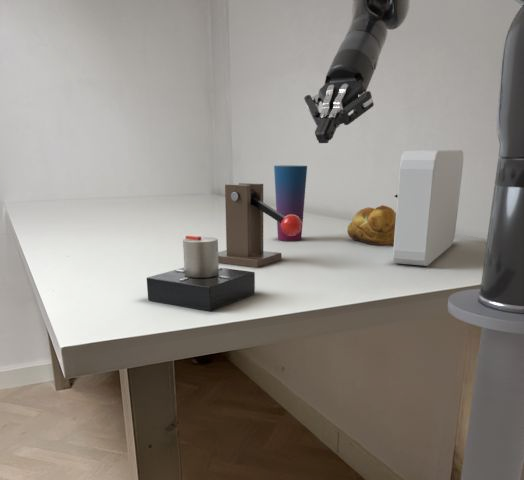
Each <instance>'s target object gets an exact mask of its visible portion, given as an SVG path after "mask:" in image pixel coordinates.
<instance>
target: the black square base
mask: <svg viewBox="0 0 524 480" xmlns="http://www.w3.org/2000/svg"><path fill="white" fill-rule="evenodd" d="M255 279H256V272H255V271H248V270H241V269H234V268H226V267H219V274H218V275H217V276H214V277H208V278H192V277H187V276H185V272H184V267H181V268H177V269H174V270H169V271H166V272H162V273H159V274H158V273H157V274H155V275H152V276H147V277H146V288H147V289H146V290H147V300H148V301H149V302H150V301H151V302H154V303H155V302H156V303H160V304H168V305H171V306H177V307H184V308H188V309H195V310H200V311H205V312H206V311H207V312H212V311H216V310H218V309H220V308H222V307H225V306H228V305H230V304H233V303H236V302H238V301H240V300H243V299H245V298H248V297H250V296H253V295H255V293H256V280H255Z"/></svg>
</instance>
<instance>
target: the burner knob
mask: <svg viewBox="0 0 524 480" xmlns="http://www.w3.org/2000/svg"><path fill="white" fill-rule="evenodd" d="M182 247H183V248H182V249H183V250H182V251H183V268H184V272H185V276H187V277H192V278H208V277H214V276H217V275H218V274H219V268H220V267H219V266H220V265H219V263H218V252H219V238H217V237H213V236H200V235H199V236H198V235H189V234H188V235H185V238H183V239H182Z"/></svg>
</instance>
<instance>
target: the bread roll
mask: <svg viewBox="0 0 524 480" xmlns="http://www.w3.org/2000/svg"><path fill="white" fill-rule="evenodd" d="M395 222H396V211H395V210H394V209H393V208H392V207H389V206H387V205H384V204H382V205H380V206H377V207H375V208H374V207H368V206H367V207H364V208H362V209H360V210H358V211H357V212H356V213H355V215H354V216H353V217H352V220H351V222H350V223H348V225H347V229H346V230H347V235H348V236H349V238H350V239H352V240H355V241H359V242H364V243H365V244H368V245H373V246H374V245H376V246H388V245H394V235H395Z"/></svg>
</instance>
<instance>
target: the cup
mask: <svg viewBox="0 0 524 480" xmlns="http://www.w3.org/2000/svg"><path fill="white" fill-rule="evenodd" d="M273 170H274V171H273V172H274V188H275V210H276V211H277V212H279V213H281V214H282V215H284V216H287V215H290V214H293V215H296V216H298V217H299V218H300V220H301V222H302V225H303V223H304V222H303V221H304V209H305V197H306V186H307V175H308V165H304V164H303V165H301V164H300V165H299V164H297V165H295V164H290V165H289V164H285V165H283V164H280V165H274V166H273ZM276 228H277V240H278V241H282V242H297V241H301V240H302V235H303V227H302V228H301V230H300V232H299V233H298V234H296V235H294V236H289V235H286V234H285V233H284V232H283V231H282V229H281V223H280V222H278V221H277V220H276Z"/></svg>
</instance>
